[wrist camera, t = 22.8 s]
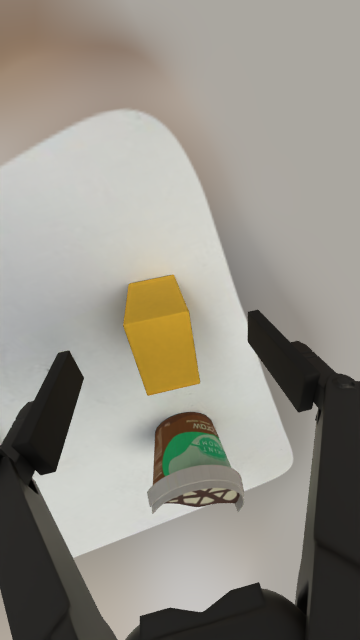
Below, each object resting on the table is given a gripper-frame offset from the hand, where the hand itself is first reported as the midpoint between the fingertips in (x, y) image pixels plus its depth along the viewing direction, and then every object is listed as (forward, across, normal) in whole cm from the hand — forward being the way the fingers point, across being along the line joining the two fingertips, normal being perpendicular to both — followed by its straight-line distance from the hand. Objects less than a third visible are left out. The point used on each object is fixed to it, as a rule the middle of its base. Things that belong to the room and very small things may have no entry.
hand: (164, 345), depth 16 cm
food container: (+8, +1, -20) cm, 22 cm away
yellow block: (+8, 0, -1) cm, 8 cm away
